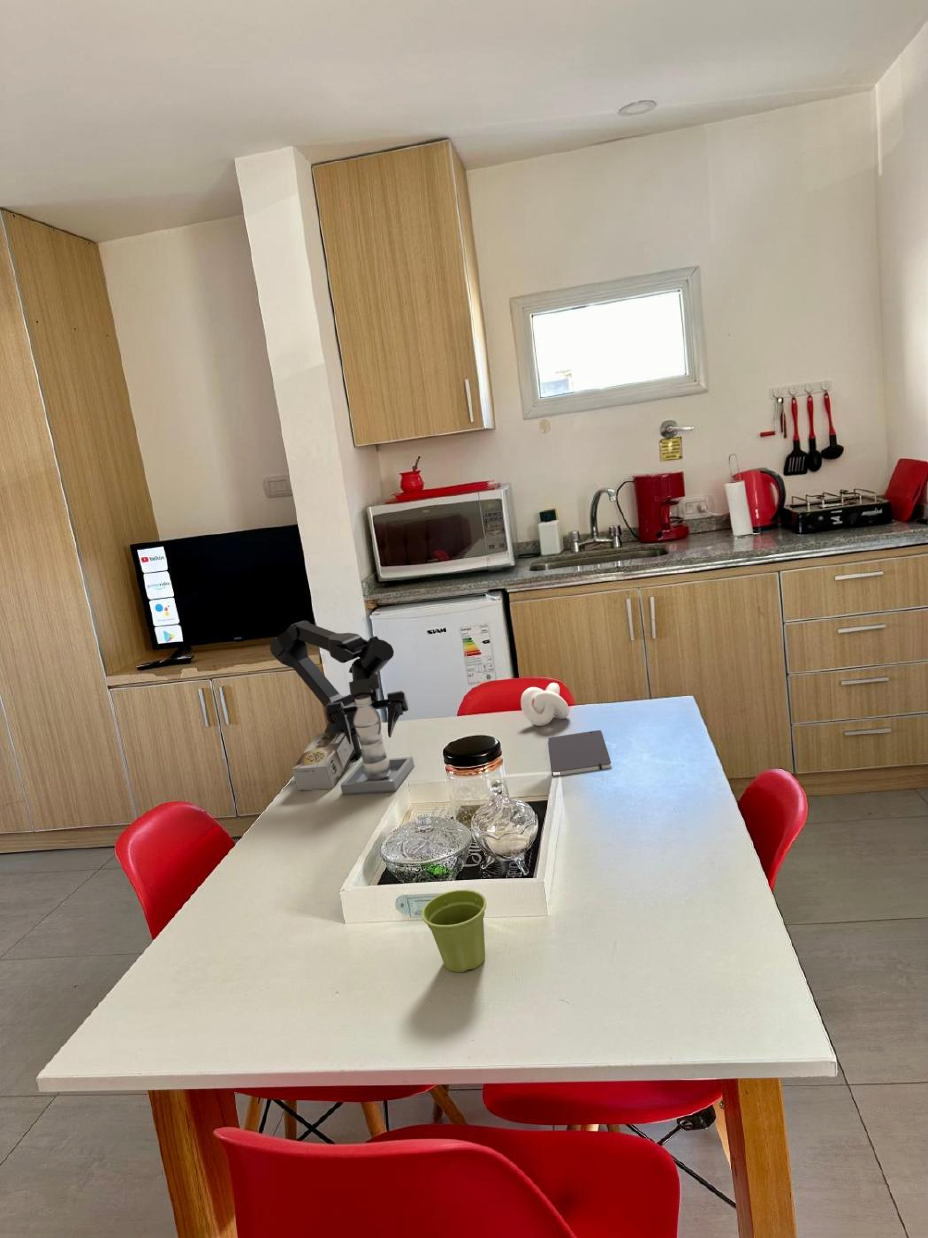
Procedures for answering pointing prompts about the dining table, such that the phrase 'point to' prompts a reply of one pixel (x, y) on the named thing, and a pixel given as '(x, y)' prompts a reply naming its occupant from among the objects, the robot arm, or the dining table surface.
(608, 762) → the notebook
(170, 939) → the dining table surface
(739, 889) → the dining table surface
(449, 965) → the plant pot
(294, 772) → the coffee box
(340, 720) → the robot arm
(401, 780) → the grey square tray
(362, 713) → the plastic bottle
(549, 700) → the white knot sculpture
